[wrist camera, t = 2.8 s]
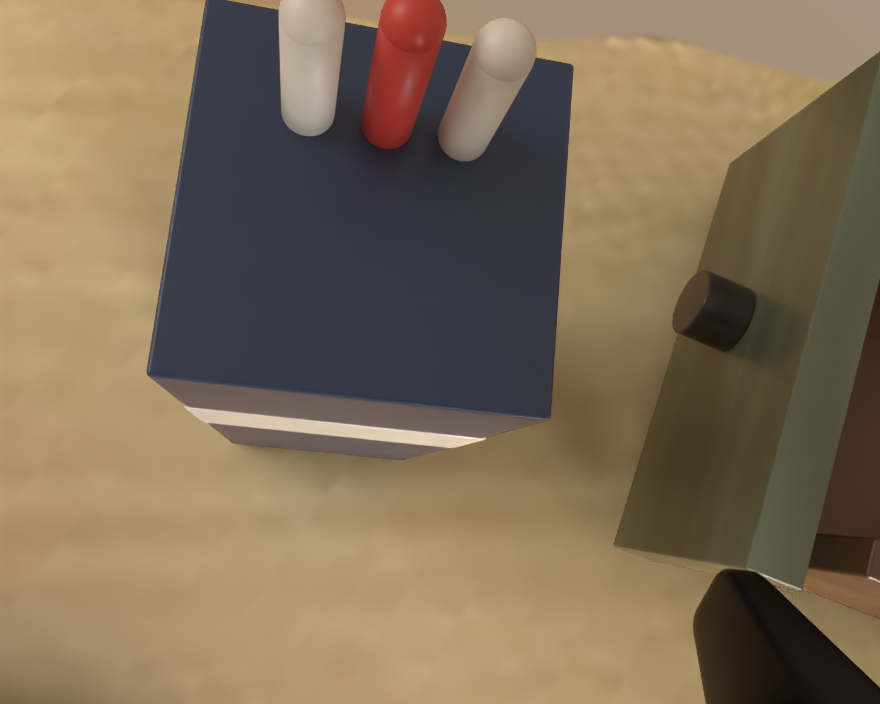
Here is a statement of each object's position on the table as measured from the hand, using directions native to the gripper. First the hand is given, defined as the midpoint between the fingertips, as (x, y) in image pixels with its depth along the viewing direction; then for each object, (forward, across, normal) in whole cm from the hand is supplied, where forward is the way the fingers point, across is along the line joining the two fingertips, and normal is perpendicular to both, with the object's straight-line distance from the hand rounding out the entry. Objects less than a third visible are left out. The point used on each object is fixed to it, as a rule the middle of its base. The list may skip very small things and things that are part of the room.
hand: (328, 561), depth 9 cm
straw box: (+11, 0, +6) cm, 13 cm away
